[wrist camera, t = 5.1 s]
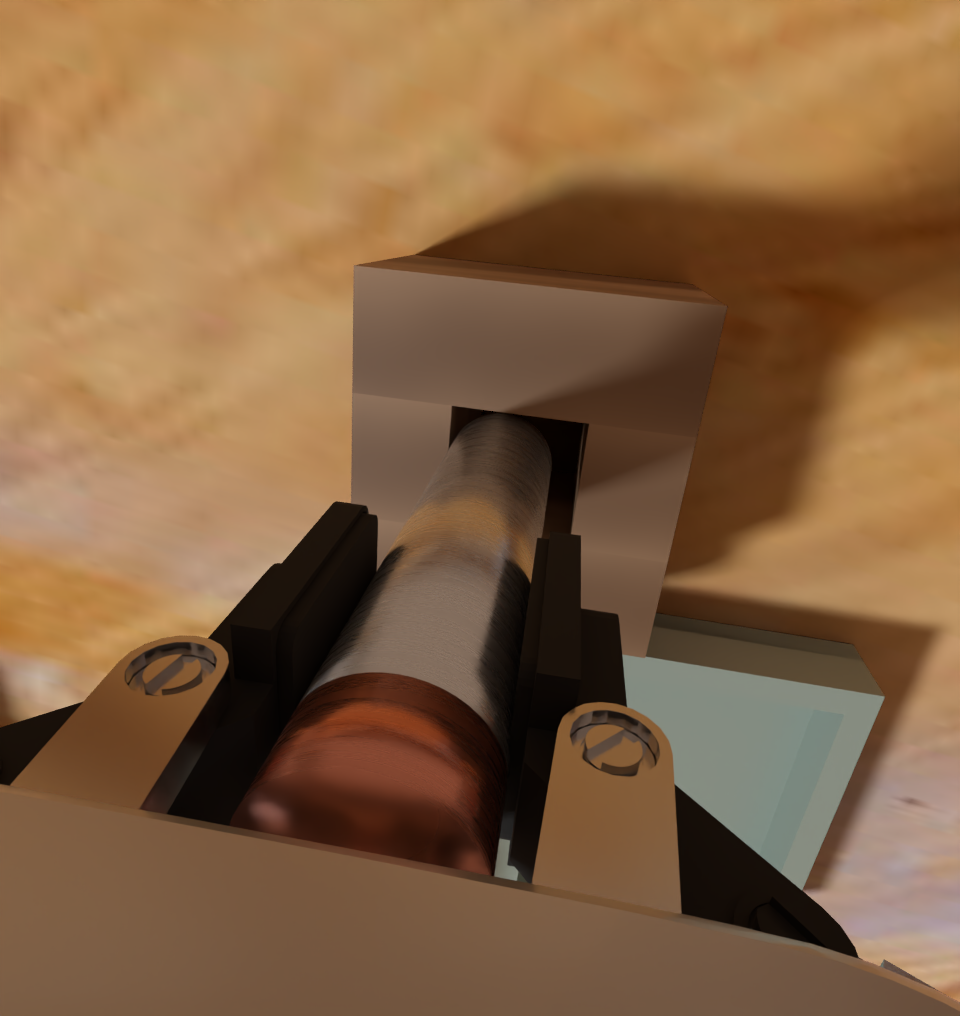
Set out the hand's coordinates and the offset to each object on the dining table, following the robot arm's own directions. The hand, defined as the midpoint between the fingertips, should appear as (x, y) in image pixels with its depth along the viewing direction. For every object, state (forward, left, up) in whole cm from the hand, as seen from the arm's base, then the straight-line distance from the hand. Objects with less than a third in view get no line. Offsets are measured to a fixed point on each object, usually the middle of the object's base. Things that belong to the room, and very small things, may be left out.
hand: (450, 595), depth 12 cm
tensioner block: (+1, 0, -13) cm, 13 cm away
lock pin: (0, 0, -7) cm, 7 cm away
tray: (+14, +7, -13) cm, 20 cm away
